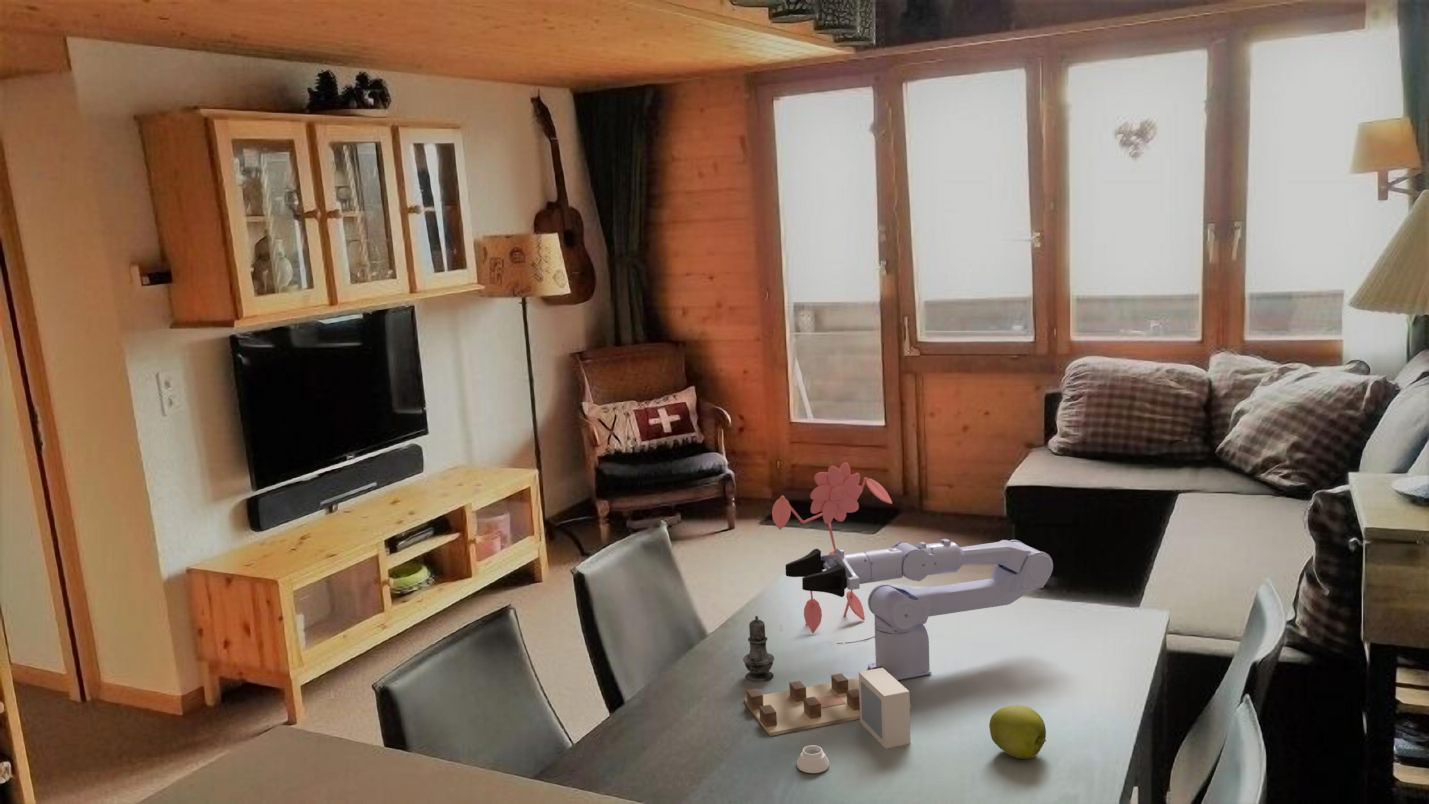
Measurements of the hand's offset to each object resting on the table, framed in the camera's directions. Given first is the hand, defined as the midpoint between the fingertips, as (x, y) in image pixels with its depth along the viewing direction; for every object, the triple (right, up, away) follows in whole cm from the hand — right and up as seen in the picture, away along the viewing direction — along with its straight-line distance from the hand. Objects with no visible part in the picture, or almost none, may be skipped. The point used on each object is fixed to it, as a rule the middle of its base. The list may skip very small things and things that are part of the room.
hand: (794, 577), depth 195 cm
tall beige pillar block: (+14, -23, -14) cm, 30 cm away
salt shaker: (-6, -20, +11) cm, 24 cm away
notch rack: (+5, -22, -3) cm, 23 cm away
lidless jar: (+1, -26, -23) cm, 35 cm away
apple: (+34, -24, -23) cm, 48 cm away
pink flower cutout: (+12, -16, +31) cm, 37 cm away
